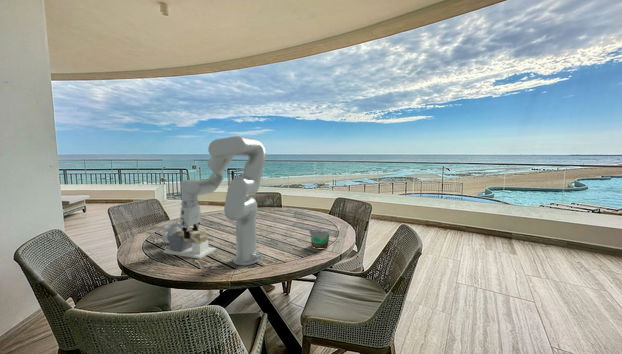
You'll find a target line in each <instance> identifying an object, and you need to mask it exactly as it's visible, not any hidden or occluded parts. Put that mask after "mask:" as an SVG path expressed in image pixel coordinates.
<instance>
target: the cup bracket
mask: <svg viewBox="0 0 622 354" xmlns="http://www.w3.org/2000/svg"><path fill="white" fill-rule="evenodd" d="M168 241H169V244H168V245H169V246H168V247H169V248H167V249H165V250H163V251H162V253H163V254H169V255H173V256H175V255H176V256H180V257H185V258H187V257H188V258H192V259H197V260H198V259H199V260H201V259H202V258H204V257H206V256H208V255H209V254H211V253H213V252H215V251H217V248H216V247H211V246H209V240H208V239H206V241H205V242H203V243H201V244H199V243H192V242H185V241H182V237H181V236H176V233H173V234H170V235H168Z"/></svg>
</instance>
